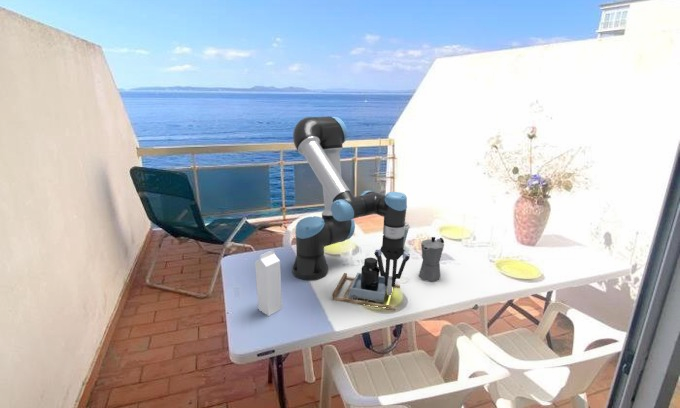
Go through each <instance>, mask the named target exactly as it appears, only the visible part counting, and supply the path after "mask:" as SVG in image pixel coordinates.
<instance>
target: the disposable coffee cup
mask: <svg viewBox="0 0 680 408" xmlns="http://www.w3.org/2000/svg"><path fill="white" fill-rule="evenodd" d="M409 229H410V224H409V222H408V221H405V232H404V236H403V237H404V243H403V248H404V249H405V244H406V242H407V241H406V240H407V237H408V233H409Z"/></svg>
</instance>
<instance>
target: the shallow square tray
mask: <svg viewBox="0 0 680 408" xmlns="http://www.w3.org/2000/svg"><path fill="white" fill-rule="evenodd" d="M354 278H355V279H354V281H353V283H352V285H351V287H350V292H349V297H351V299H354V300H356V299H357V298H358V299H363V300H365V299H368V301H375V302H374V303H377V304H381V303H384V302H385V297H386V295H387V286H385V277H383V276H380V275H379V286H378V290H377V291H370V290H364V289H361V272H359V271H358V272H357V273H356V274H355V277H354ZM358 299H357V300H358Z"/></svg>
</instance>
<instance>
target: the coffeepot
mask: <svg viewBox="0 0 680 408" xmlns="http://www.w3.org/2000/svg"><path fill="white" fill-rule="evenodd" d="M444 243H445V240H444V238H443V237H440V238H437V239H436V237H435V236H431V239H424V240H422V242H421V256H422V262H421V266H420V270H419V273H418V277H419V278H420V279H421V280H423V281H426V282H431V283H434V282H438V281H440V280H441V265H440V261H441V258H442V255H443V250H444V247H445V244H444Z"/></svg>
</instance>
